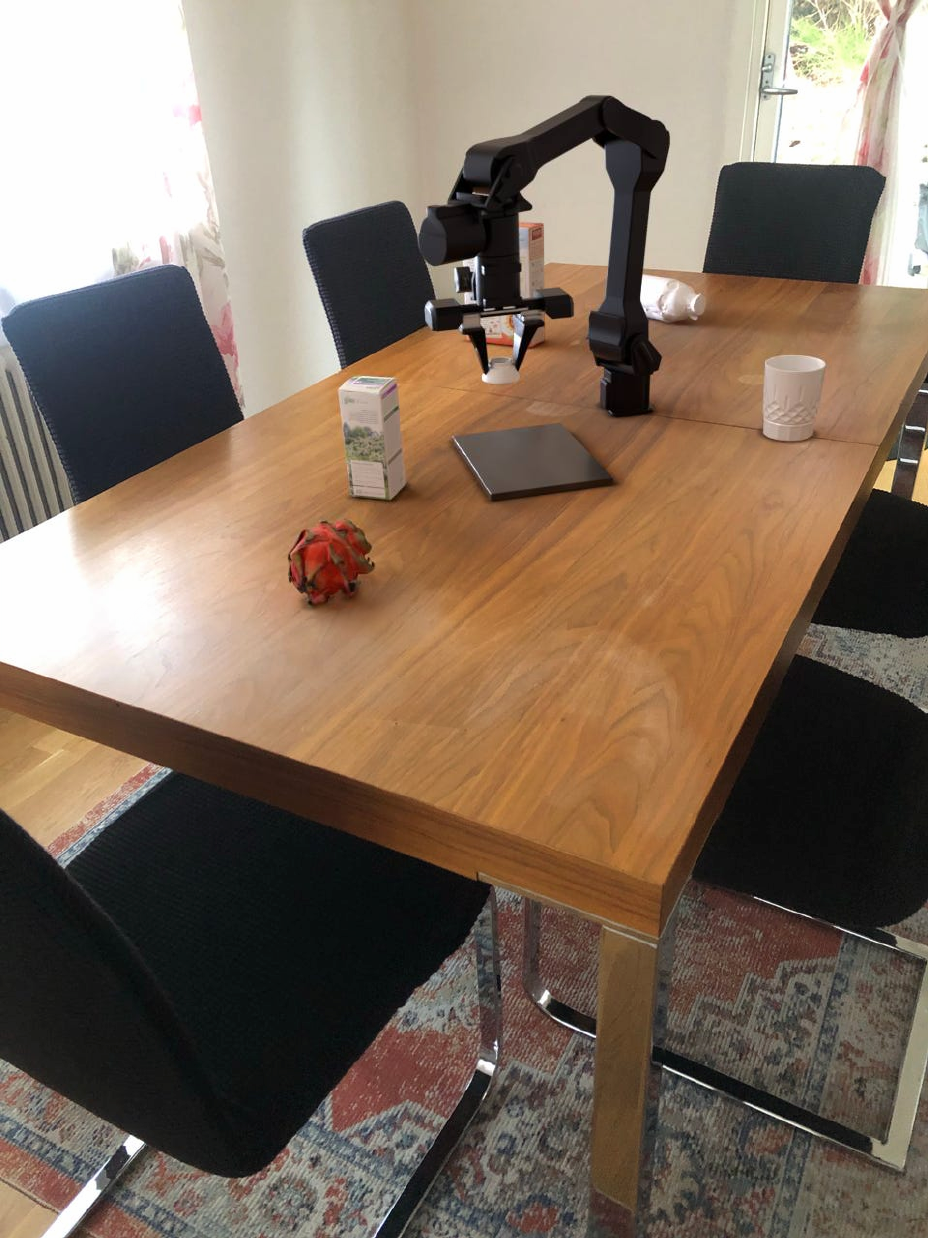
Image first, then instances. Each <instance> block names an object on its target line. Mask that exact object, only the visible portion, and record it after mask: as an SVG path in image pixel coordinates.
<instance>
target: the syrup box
mask: <svg viewBox="0 0 928 1238" xmlns="http://www.w3.org/2000/svg"><path fill="white" fill-rule="evenodd" d="M398 387H399V385H398V380H397V378H396V377H387V376H386V377H384V376H367V375H355V376H353V377H351V378H349V379H348V380H347V381H345V382H344V383H343V384H342V385H341V386H340V387H339V388H337V391H338V392H337V393H338V401H339V408H340V416H341V425H342V433H343V443H344V451H345V459H346V468H347V476H348V477H347V478H348V484H349V485H348V486H349V493H350V494H349V495H350V497H351V498H361V499H362V498H363V499H372V500H382V501H391V500H392V499H393V498H395V496H397V495H398V494H399V493H400V491H401V490H403V488H405V486H406V484H407V478H406V471H405V461H404V452H403V439H402V427H401V413H400V400H399V399H400V398H399V388H398Z"/></svg>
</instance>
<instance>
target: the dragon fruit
mask: <svg viewBox="0 0 928 1238" xmlns="http://www.w3.org/2000/svg"><path fill="white" fill-rule="evenodd" d="M372 549H373V546H372V544H371V543H370V542H369V541H368V540H367V538H366V534H365V531H364V530H362V528H359V527H358V526H356V525H355V524H354V523H353V522H352V521H351V520H349V519H346V518H344V519H343V518H342V519H339V520H337V521H336V523H335V524H333V523H330V522H328V520H327V519H324V520H323V519H319V520H318V526H317V528H315V529H306V528H305V529H303V530H301V531H300V532H299V534H298V535H297V537H296V540H295V541H294V544H293V546H292V547H291V548H290V551H289V552H288V555H287V561H288V573H287V575H288V582H289V584H291V583H292V585H293V586H294V587H295V589H296V590H297V591H298V592H299V593H300V594H301V595H303V594H306V595H307V597H306V599H307V602H306V604H307V605H309V606H310V607H311V606H312V605H313V604H314V605H318V604H323V603H324V604H326V603H329V602H331V601H332V600H333V599H334V597H335V596H334V594H336V593H338V592H339V591H341V592H342V594H344V595H345V596H347V597H351V596H353V595H354V594H355V593H356V592H357V591H358V590H359V589H360V586H361V585H362V581H361V580H358V576H359V575H368V574H370V573H372V572H374V570H375V569H376V563H375V562H374V561H371V559H370V557H369V556H368V557H367V558H366V555H368V554H370V553H371V552H372ZM370 562H371V563H370ZM331 595H333V596H332V597H331Z"/></svg>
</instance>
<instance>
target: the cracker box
mask: <svg viewBox="0 0 928 1238" xmlns="http://www.w3.org/2000/svg"><path fill="white" fill-rule="evenodd" d="M544 226H545V223H543V222H525V221H519V242H520V263H521V264H522V272H520V284H521V296H522V299H523V298H533V295H534V291H535V290H537V289H546V287H545V285H546V284H545V227H544ZM474 259H475V258H472V259H468V260H463V261H462V265H463V266H462V267H464V266H469V267H470V271H471V272H473V271H474ZM474 303H477V300H476V301H474V300H470V293H469V292H466V293H464V305H465V304H474ZM505 308H506V307H505ZM505 308H504V309H505ZM507 308H514V306H513V307H507ZM493 309H494V308H493ZM493 309H487V310H493ZM484 310H485V311H487V310H486V309H484ZM541 319H542V320H543V321H544V322H545V323H546V313H545V311H544V312H542V315H541ZM480 324H481V326H482V327H483V328H484V329H485V333H486V343H487V344H496V345H505V346H511V347H512V346H514V321H513V315H505V316H496V317H486V318H481V321H480ZM466 340H467V341H469V342H471V340H470V338H469V336H468V335H466ZM544 341H546V325H545V326H544V327H539V328H538V329H537V331H536V333H535V335H534V337H533V339H532V340H531V342H530V344H529V346H528V348H532V347H534V346H537V345H538V344H540V343H542V342H544Z"/></svg>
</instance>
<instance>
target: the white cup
mask: <svg viewBox="0 0 928 1238" xmlns="http://www.w3.org/2000/svg"><path fill="white" fill-rule="evenodd" d="M826 366H827V363H826V362H825V361H824V360H823V359H821V358H818V357H815V356H810V355H803V354H783V355H776V356H772V357H769V358H767V359H766V360H765V361H764V371H763V372H764V373H763V374H764V375H763V389H762V390H763V391H762V395H763V397H762V416H763V417H762V434H763V435H764V436H765V437H767V439H770V440H775V441H779V442H787V443H788V442H802V441H805V440H808V439H810V438H811V437H813V434H814V428H815V422H816V418H817V415H818V410H819V405H820V402H821V395H822V389H823V383H824V379H825V373H826Z"/></svg>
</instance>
